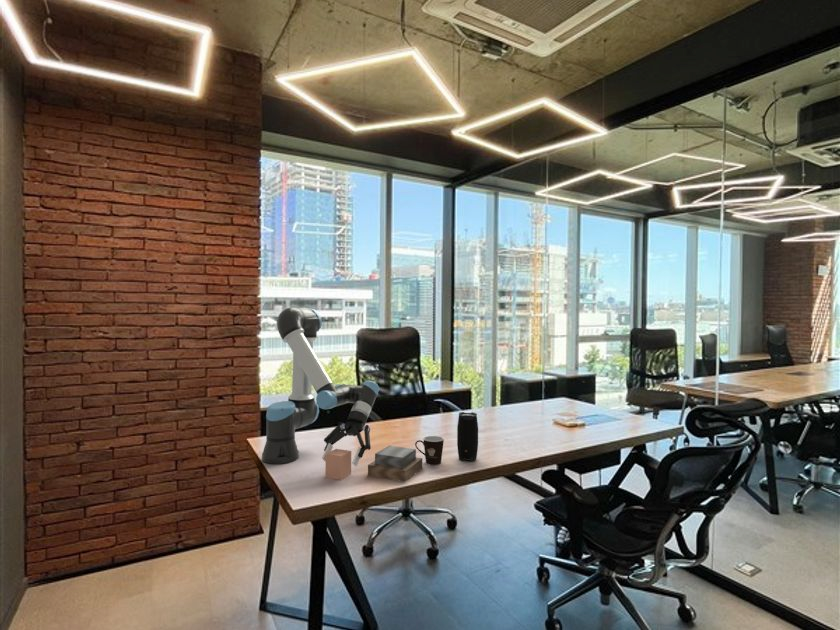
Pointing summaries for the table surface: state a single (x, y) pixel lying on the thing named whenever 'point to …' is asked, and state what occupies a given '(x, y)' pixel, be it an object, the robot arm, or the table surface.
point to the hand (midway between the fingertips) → (338, 462)
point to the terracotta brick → (338, 464)
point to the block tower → (395, 463)
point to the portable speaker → (467, 436)
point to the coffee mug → (432, 449)
